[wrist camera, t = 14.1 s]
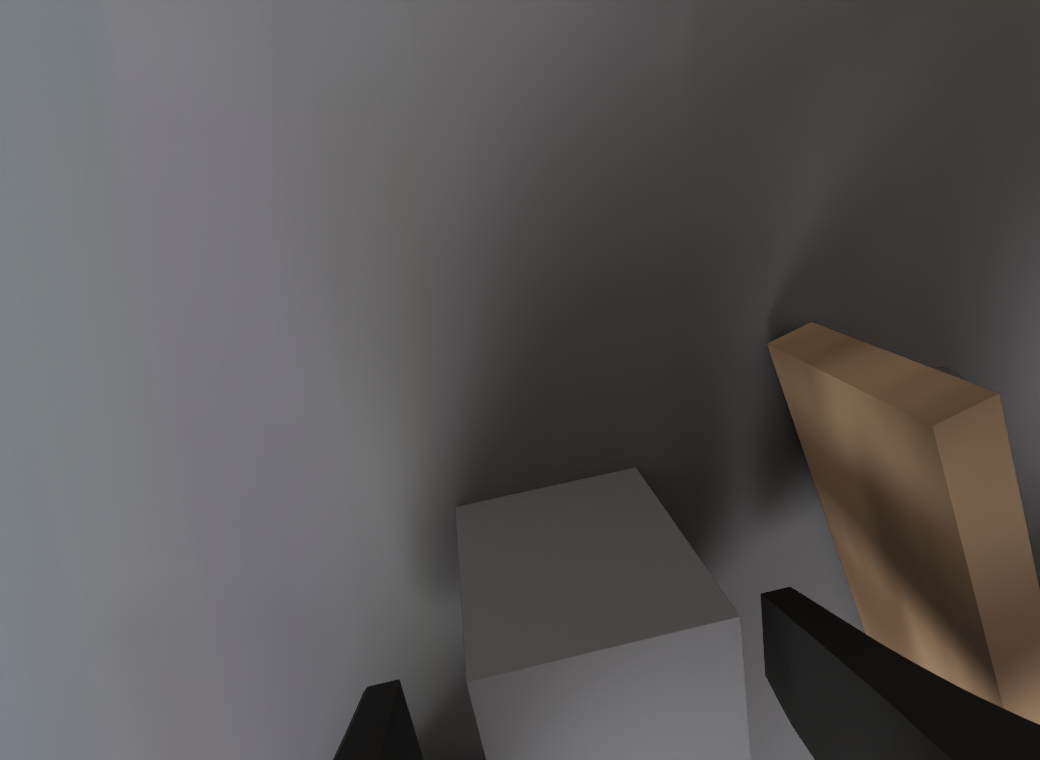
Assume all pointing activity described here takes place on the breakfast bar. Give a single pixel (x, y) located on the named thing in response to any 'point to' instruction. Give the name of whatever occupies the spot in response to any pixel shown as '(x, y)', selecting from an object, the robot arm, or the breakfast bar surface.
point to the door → (920, 510)
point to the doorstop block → (596, 629)
